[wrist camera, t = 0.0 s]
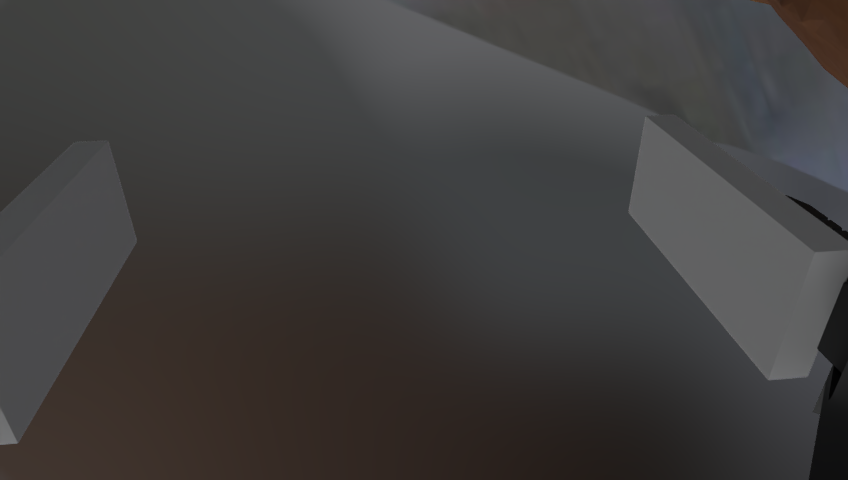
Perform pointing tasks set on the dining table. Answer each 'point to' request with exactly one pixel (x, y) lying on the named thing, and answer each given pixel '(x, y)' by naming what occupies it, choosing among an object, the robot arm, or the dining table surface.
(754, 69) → the dining table surface
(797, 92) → the dining table surface
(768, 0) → the butternut squash
